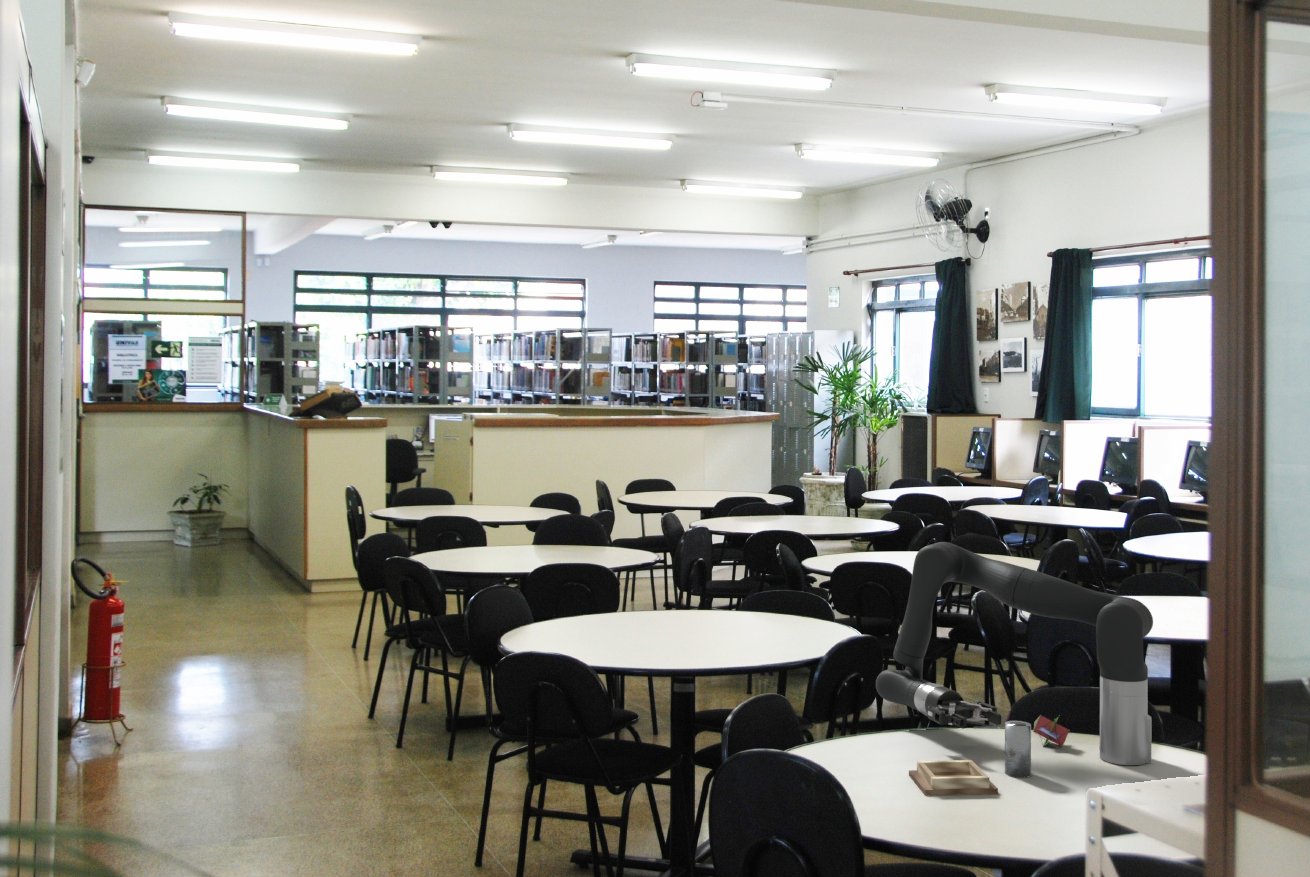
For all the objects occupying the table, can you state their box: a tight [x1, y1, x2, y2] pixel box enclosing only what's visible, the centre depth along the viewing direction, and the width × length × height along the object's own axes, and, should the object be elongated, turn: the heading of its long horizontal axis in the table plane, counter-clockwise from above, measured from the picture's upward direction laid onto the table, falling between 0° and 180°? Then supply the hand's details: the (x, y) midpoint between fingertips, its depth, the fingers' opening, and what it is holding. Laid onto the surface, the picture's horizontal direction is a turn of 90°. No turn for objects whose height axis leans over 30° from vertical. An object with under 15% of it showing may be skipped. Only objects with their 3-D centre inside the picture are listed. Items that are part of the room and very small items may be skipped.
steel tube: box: [1004, 720, 1032, 779], centre depth 236 cm, size 5×5×10 cm
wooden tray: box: [908, 759, 999, 796], centre depth 229 cm, size 14×12×3 cm
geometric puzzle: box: [1033, 714, 1071, 748], centre depth 255 cm, size 7×7×8 cm
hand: (982, 721), depth 246 cm, fingers open, 8 cm apart
